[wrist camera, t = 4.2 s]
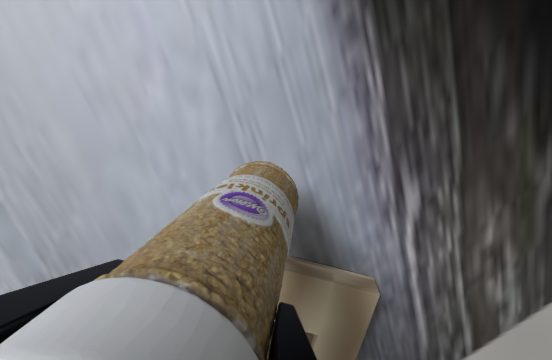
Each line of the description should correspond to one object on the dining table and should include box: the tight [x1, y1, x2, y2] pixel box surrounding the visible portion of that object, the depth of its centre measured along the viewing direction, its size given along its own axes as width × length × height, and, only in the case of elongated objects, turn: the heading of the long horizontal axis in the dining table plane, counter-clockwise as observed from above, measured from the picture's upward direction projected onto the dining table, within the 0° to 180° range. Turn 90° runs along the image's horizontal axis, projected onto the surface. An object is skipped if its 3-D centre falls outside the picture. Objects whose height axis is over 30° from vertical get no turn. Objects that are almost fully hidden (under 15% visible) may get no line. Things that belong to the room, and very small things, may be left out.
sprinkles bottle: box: [0, 161, 298, 360], centre depth 10 cm, size 5×5×14 cm
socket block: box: [267, 256, 380, 360], centre depth 22 cm, size 13×16×2 cm
